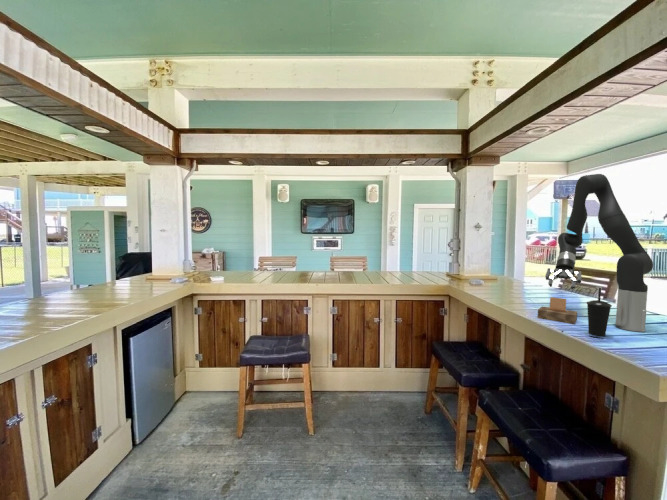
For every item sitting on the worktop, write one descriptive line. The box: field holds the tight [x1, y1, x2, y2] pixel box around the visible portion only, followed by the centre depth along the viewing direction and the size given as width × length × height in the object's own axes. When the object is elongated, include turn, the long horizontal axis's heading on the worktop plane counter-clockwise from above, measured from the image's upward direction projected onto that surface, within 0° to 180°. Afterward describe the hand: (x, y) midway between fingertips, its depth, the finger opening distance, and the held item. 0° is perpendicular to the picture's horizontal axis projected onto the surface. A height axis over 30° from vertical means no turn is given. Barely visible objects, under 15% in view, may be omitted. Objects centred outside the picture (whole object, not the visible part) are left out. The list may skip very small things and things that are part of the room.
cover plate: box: [549, 296, 567, 312], centre depth 144 cm, size 6×2×10 cm, turn 47°
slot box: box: [537, 305, 578, 325], centre depth 144 cm, size 14×10×5 cm
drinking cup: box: [586, 287, 613, 340], centre depth 122 cm, size 8×8×20 cm
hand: (561, 287), depth 149 cm, fingers open, 8 cm apart
